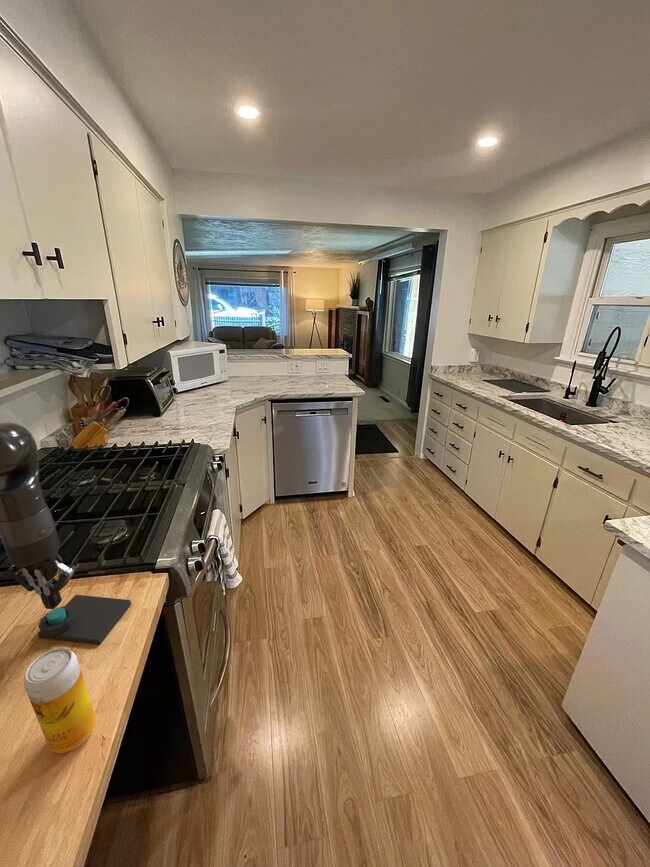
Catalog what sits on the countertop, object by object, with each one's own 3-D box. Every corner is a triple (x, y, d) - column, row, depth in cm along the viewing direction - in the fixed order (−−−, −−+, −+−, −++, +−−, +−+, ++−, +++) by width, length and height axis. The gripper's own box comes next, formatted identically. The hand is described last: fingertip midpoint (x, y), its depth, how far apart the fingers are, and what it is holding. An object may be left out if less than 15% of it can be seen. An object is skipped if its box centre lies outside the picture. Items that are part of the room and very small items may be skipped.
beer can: (39, 750, 53) (9, 680, 48) (75, 708, 59) (52, 641, 53) (72, 762, 52) (45, 691, 47) (105, 717, 57) (85, 650, 52)
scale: (35, 640, 70) (30, 628, 69) (75, 599, 80) (72, 588, 79) (98, 647, 69) (95, 635, 68) (131, 604, 79) (129, 594, 78)
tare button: (44, 624, 71) (42, 618, 70) (56, 612, 73) (55, 606, 73) (58, 626, 70) (56, 620, 70) (70, 613, 73) (68, 608, 73)
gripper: (78, 522, 67) (98, 594, 73) (15, 517, 69) (39, 588, 75) (45, 548, 60) (69, 624, 66) (-25, 542, 62) (5, 618, 68)
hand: (53, 605), depth 71 cm, fingers closed
